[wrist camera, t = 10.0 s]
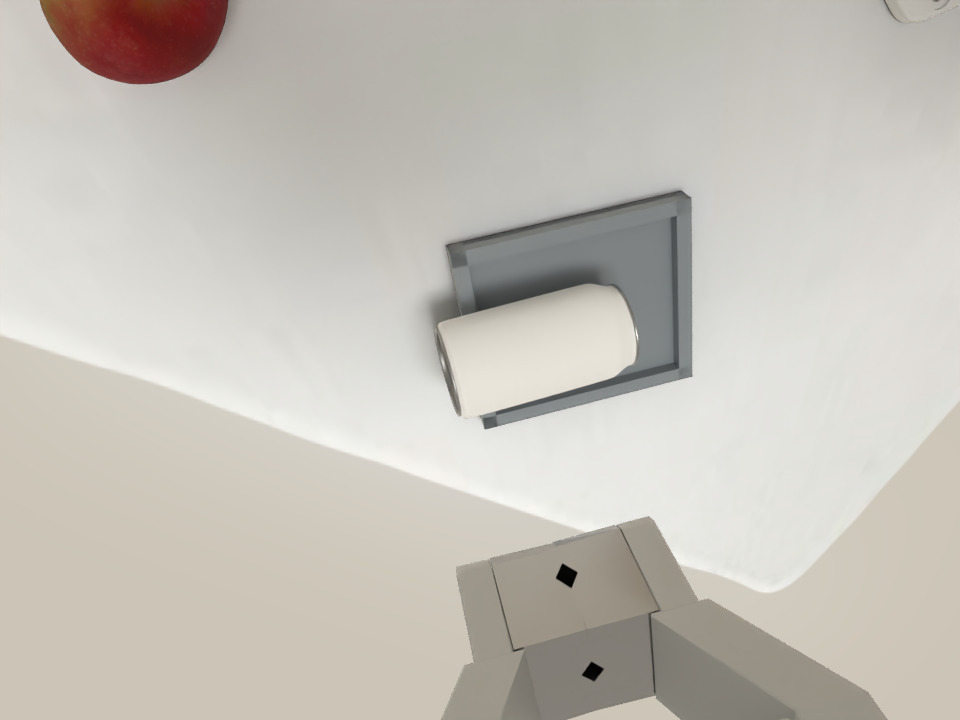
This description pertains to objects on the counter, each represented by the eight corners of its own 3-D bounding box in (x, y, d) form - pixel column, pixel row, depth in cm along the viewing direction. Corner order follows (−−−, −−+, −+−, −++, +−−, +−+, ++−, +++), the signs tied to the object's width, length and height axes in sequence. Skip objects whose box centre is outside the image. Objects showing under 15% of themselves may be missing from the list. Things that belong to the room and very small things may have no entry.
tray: (681, 190, 48) (691, 197, 46) (683, 366, 55) (692, 376, 54) (446, 245, 46) (450, 254, 45) (480, 417, 54) (484, 429, 53)
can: (457, 423, 49) (622, 376, 50) (463, 418, 43) (652, 365, 44) (431, 332, 50) (595, 289, 51) (434, 314, 43) (621, 265, 45)
